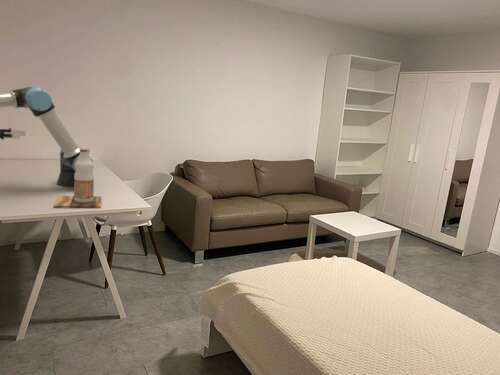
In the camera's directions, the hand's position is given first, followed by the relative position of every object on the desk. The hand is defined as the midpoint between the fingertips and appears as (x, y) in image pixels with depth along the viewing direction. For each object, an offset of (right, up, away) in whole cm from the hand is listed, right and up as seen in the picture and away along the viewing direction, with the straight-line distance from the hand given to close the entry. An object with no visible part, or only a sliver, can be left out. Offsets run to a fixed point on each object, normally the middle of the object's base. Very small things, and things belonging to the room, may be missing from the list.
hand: (22, 134), depth 192 cm
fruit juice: (+26, -34, +11) cm, 44 cm away
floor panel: (+24, -35, +11) cm, 44 cm away
